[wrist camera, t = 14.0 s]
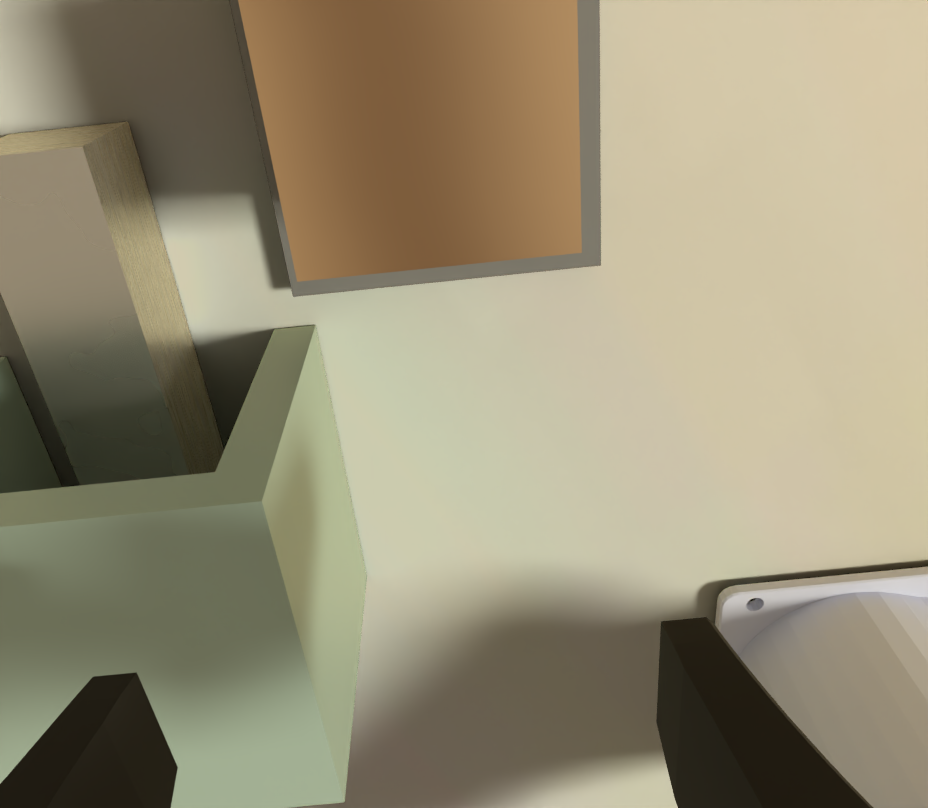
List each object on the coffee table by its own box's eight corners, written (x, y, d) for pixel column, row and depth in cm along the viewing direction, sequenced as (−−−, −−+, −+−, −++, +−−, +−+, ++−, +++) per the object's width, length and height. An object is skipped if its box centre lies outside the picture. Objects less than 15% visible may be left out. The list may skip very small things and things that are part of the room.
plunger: (173, 117, 16) (95, 165, 13) (303, 609, 23) (279, 736, 19) (-36, 138, 16) (-177, 193, 13) (156, 623, 23) (103, 753, 20)
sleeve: (315, 325, 19) (262, 501, 13) (366, 576, 23) (344, 802, 17) (-35, 360, 19) (-254, 552, 13) (77, 604, 23) (-50, 839, 17)
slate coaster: (592, -100, 15) (599, -102, 14) (596, 256, 18) (600, 265, 18) (223, -61, 15) (216, -61, 14) (297, 287, 18) (292, 296, 18)
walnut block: (531, -71, 14) (575, -84, 10) (541, 175, 17) (581, 252, 12) (288, -47, 14) (228, -47, 10) (331, 197, 17) (297, 282, 12)
